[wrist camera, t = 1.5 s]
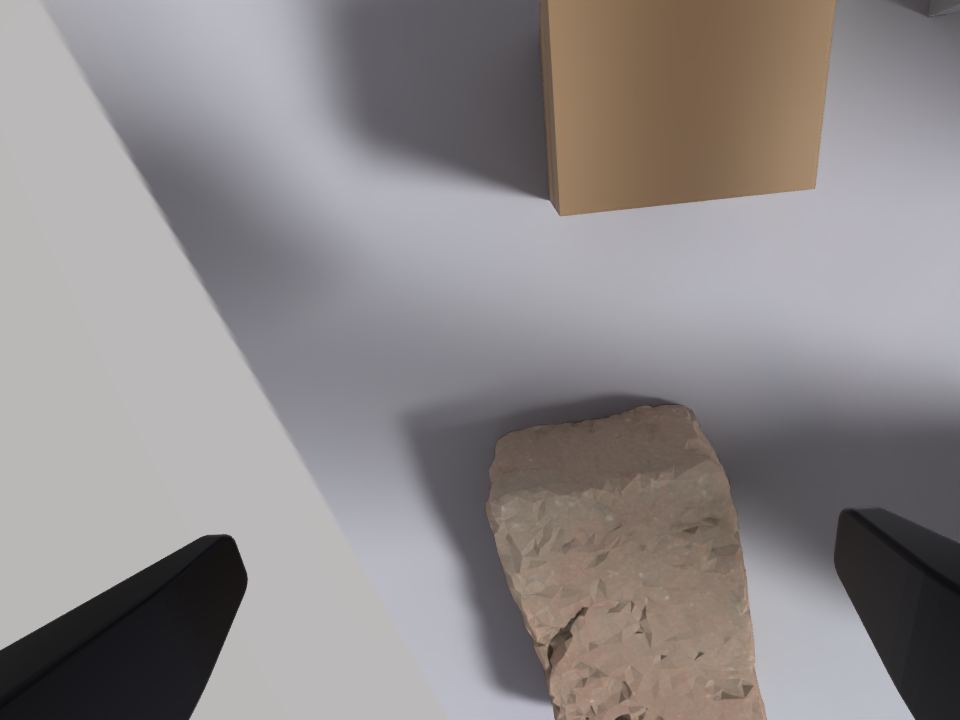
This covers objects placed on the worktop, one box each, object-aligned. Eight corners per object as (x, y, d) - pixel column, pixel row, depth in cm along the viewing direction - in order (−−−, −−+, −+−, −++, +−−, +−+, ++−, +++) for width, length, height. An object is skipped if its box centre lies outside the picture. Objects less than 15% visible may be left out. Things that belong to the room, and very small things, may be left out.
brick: (484, 435, 21) (470, 506, 16) (690, 390, 19) (737, 456, 15) (574, 705, 26) (582, 814, 22) (742, 688, 24) (788, 802, 20)
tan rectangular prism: (709, 5, 15) (850, -133, 8) (702, 183, 16) (815, 188, 10) (539, 32, 15) (544, -75, 9) (549, 200, 17) (559, 216, 10)
